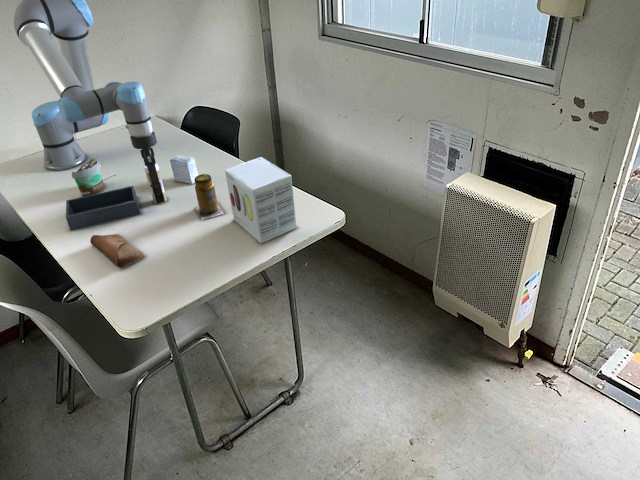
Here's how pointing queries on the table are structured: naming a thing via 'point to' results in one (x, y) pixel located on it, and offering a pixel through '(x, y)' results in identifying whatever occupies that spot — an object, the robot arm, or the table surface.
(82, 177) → the food container
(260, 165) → the supplement box
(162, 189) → the sprinkles bottle
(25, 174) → the table surface
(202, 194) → the condiment
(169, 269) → the table surface
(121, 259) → the sunglasses case
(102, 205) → the dark grey open tray
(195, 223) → the table surface
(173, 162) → the medicine box
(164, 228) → the table surface
